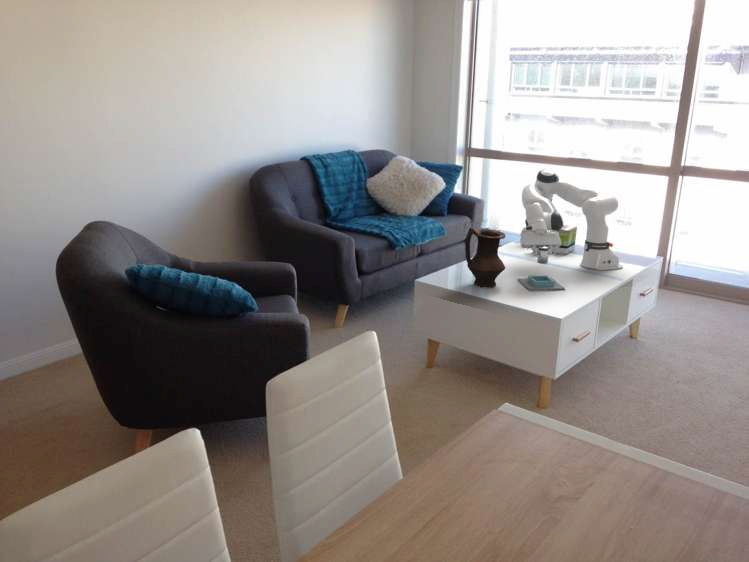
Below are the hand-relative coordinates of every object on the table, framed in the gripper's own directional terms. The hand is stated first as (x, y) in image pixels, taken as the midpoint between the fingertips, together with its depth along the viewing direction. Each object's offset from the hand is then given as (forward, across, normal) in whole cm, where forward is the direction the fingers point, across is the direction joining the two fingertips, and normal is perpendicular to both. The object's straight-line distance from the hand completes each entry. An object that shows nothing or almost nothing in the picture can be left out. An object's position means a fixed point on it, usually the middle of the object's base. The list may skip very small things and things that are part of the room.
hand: (543, 254), depth 324 cm
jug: (+9, +29, -14) cm, 33 cm away
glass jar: (+3, 0, -3) cm, 4 cm away
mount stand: (+11, 0, -12) cm, 16 cm away
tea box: (-36, -39, -59) cm, 80 cm away
